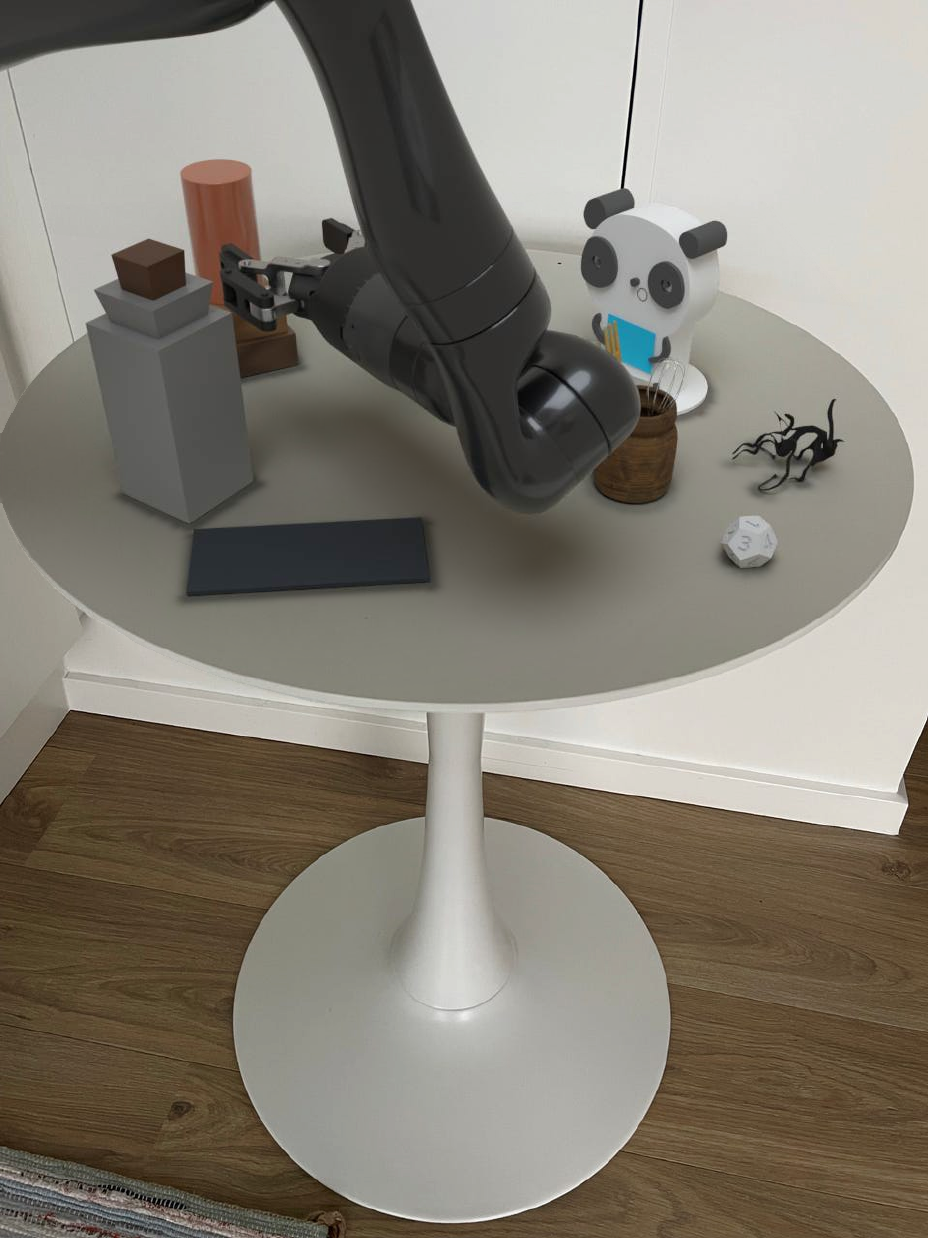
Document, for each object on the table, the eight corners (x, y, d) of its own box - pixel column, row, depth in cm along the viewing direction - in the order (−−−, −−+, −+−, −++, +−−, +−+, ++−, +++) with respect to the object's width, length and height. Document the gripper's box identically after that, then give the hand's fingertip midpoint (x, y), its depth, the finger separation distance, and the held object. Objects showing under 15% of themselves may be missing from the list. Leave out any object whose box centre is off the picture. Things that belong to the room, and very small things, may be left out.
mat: (187, 596, 75) (186, 591, 74) (194, 533, 80) (194, 528, 80) (429, 582, 76) (429, 577, 76) (421, 521, 81) (421, 516, 81)
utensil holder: (645, 515, 82) (667, 366, 74) (572, 485, 85) (586, 338, 77) (685, 480, 86) (709, 333, 78) (614, 452, 89) (630, 308, 81)
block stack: (210, 385, 96) (200, 319, 92) (181, 345, 101) (171, 281, 98) (298, 364, 99) (292, 299, 95) (266, 327, 104) (259, 264, 100)
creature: (734, 504, 85) (845, 495, 83) (730, 442, 82) (845, 431, 80) (732, 449, 91) (836, 439, 89) (728, 389, 88) (835, 378, 86)
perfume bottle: (253, 480, 85) (223, 247, 73) (189, 524, 81) (146, 283, 69) (188, 453, 88) (149, 223, 76) (123, 493, 84) (70, 256, 72)
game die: (739, 537, 80) (746, 502, 79) (782, 560, 78) (791, 525, 76) (708, 557, 79) (715, 522, 77) (752, 582, 77) (760, 546, 75)
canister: (195, 306, 94) (177, 184, 87) (200, 277, 98) (182, 159, 92) (263, 303, 94) (250, 182, 88) (265, 275, 99) (252, 157, 92)
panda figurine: (540, 378, 98) (551, 204, 88) (628, 338, 103) (647, 171, 94) (646, 433, 91) (671, 252, 81) (734, 387, 97) (766, 213, 87)
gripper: (481, 243, 77) (354, 174, 87) (297, 295, 70) (183, 214, 80) (479, 345, 82) (359, 268, 92) (307, 402, 75) (198, 313, 85)
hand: (277, 243), depth 86 cm, fingers open, 8 cm apart
